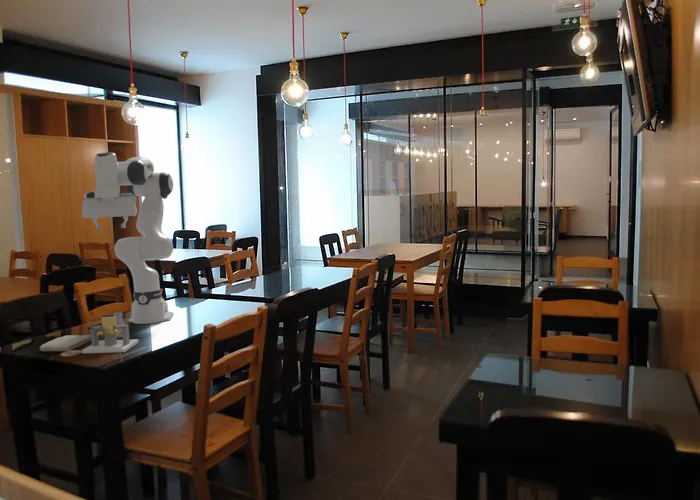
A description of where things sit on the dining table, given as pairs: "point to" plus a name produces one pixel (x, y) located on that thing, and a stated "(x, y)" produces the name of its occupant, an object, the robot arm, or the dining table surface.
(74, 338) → the washcloth
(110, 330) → the bayonet cap
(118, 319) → the flask
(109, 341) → the white peg board
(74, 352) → the cork coaster
